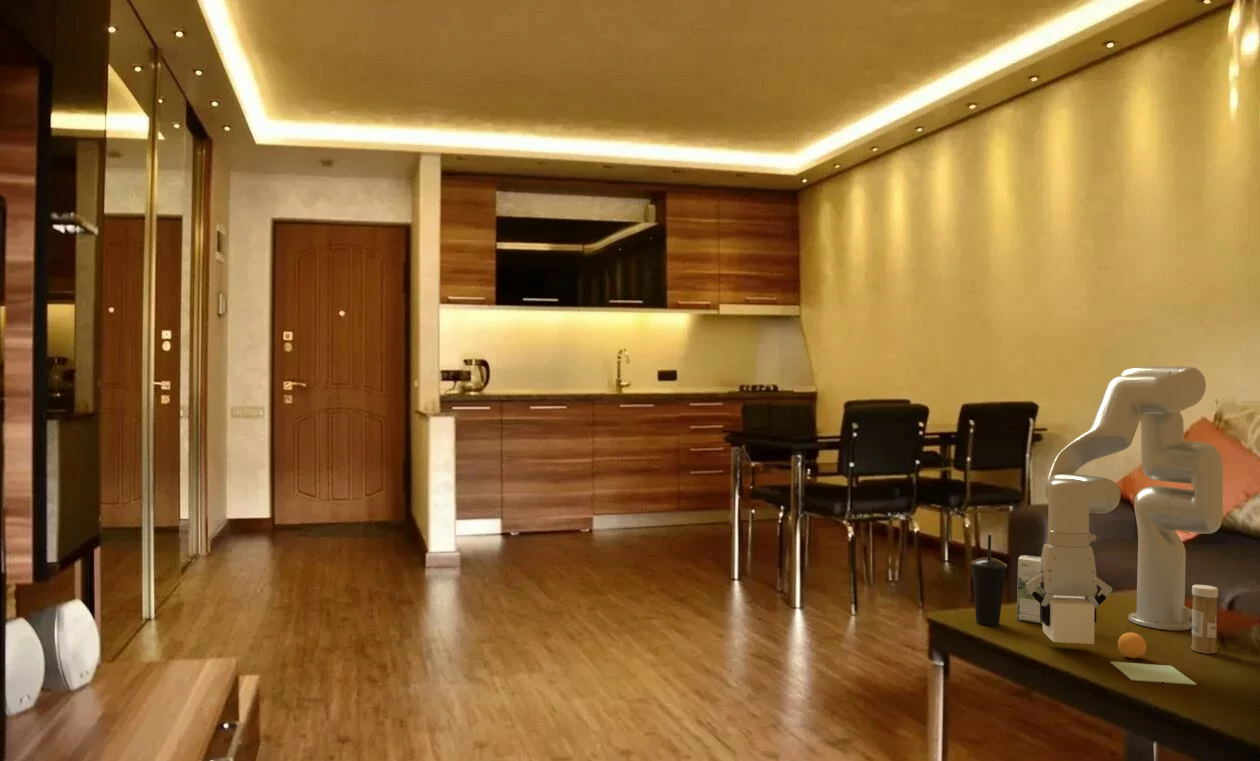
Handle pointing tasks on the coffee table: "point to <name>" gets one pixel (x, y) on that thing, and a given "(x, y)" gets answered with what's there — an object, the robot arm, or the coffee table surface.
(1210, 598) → the sprinkles bottle
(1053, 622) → the cream matte cube
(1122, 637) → the ball
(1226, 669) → the coffee table surface
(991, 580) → the drinking cup
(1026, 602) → the syrup box
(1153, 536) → the robot arm
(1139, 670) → the mark
